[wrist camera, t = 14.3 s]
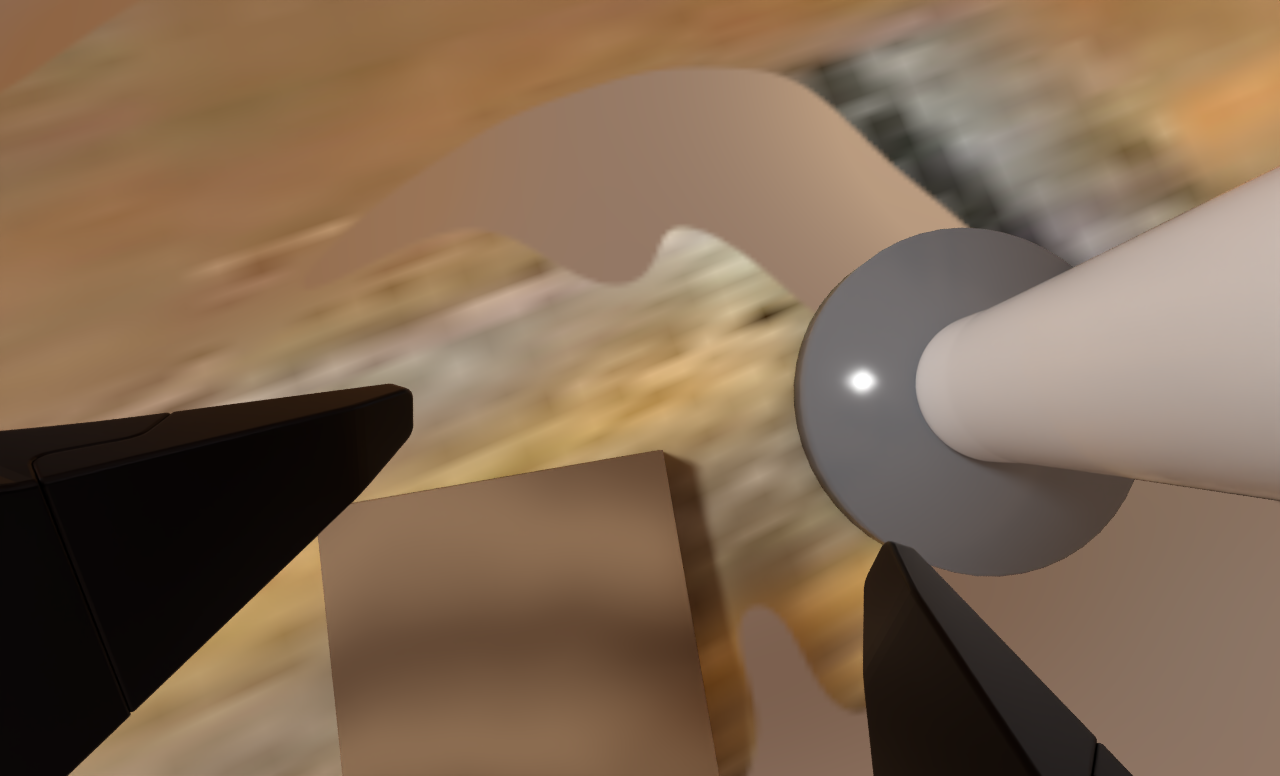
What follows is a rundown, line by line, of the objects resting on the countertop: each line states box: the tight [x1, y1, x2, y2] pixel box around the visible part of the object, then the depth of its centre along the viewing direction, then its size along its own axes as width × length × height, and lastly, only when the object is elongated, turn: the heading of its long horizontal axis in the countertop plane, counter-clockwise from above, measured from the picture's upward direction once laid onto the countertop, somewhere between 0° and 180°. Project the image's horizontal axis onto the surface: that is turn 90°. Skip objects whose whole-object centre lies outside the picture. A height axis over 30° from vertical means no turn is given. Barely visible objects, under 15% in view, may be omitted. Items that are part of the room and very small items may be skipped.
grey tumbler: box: [915, 166, 1280, 501], centre depth 12 cm, size 7×7×15 cm
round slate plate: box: [794, 228, 1135, 576], centre depth 20 cm, size 13×13×2 cm
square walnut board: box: [318, 450, 719, 776], centre depth 18 cm, size 12×12×2 cm
